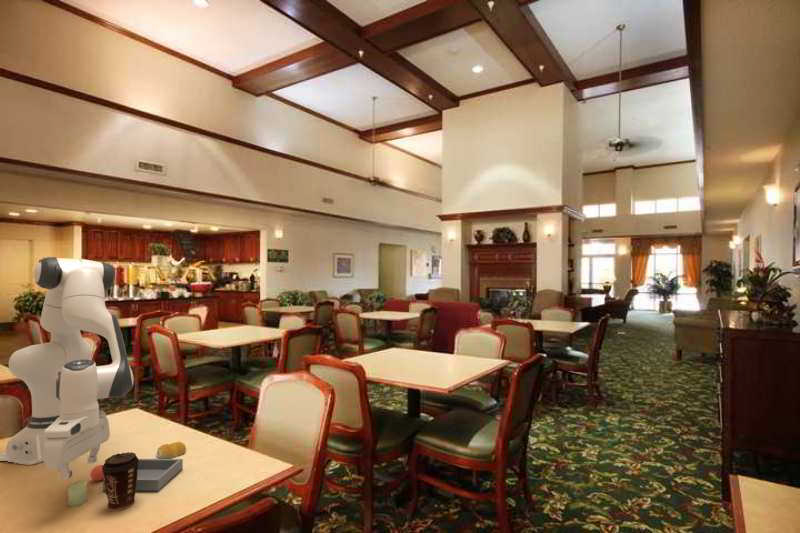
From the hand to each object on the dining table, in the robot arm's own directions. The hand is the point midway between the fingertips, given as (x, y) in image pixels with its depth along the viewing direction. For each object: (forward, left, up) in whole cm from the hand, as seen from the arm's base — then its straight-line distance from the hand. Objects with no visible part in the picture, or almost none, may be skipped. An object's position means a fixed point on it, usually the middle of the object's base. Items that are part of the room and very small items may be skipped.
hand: (80, 470), depth 121 cm
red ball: (-4, +13, -7) cm, 15 cm away
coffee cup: (+12, -1, -9) cm, 15 cm away
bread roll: (+8, +32, -9) cm, 34 cm away
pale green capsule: (-1, 0, -9) cm, 9 cm away
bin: (+10, +13, -9) cm, 19 cm away
